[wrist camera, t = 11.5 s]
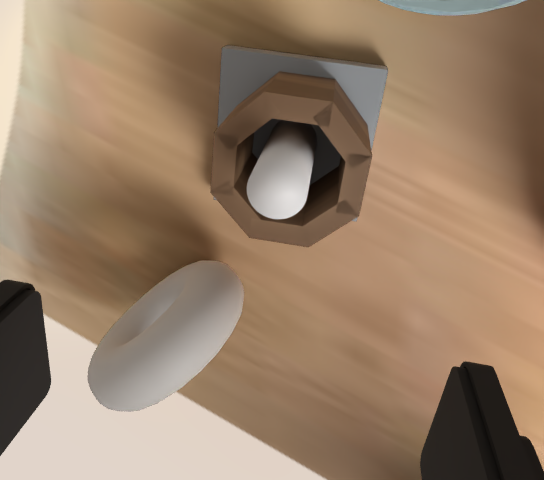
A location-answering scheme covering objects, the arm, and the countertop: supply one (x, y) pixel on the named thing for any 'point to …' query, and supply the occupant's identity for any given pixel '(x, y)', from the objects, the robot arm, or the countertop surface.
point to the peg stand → (293, 123)
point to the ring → (321, 195)
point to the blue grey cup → (450, 6)
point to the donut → (166, 336)
